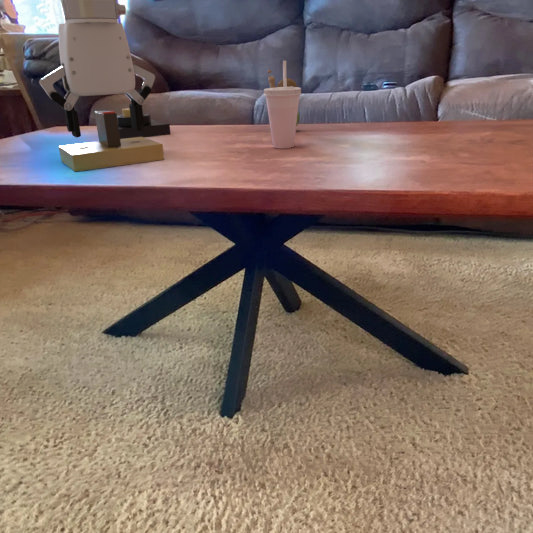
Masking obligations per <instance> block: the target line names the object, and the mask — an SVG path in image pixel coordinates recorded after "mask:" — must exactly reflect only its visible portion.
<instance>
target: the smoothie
mask: <svg viewBox="0 0 533 533" xmlns="http://www.w3.org/2000/svg"><path fill="white" fill-rule="evenodd" d="M287 78H288V77H287V60H282V79H283V87H277V86H276V88H270V87H267V88H264V89H263V96H264V97H265V100H266V101H265V102H266V107H267V114H268V122H269V127H270V128H269V129H270V135H271V142H272V148H274V149H292V148H294V147H295V142H296V132H297V126H296V124H297V114H298V113H299V104H300V95H302V88H301V87H300V86H299V87H298V86H297V87H287ZM291 147H292V148H291Z"/></svg>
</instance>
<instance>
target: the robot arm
mask: <svg viewBox="0 0 533 533" xmlns="http://www.w3.org/2000/svg"><path fill="white" fill-rule="evenodd" d="M60 4H61V11H62V17H63V22H64V23H59V24H58V50H59V61H60V66H59V67H58V68H56V69H55V70H53V71H51V72H50V73H48V74H46V75H45V76H43V77H41V78H40V79H39V81H38V83H39V85H40V86H41V88H42V89H43V90H44V92H45V93H46V95H47V96H48V98H49V99H50V100H51V101H52V102H54V103H55V104H56V105H57V106H58V107H60V108H61V109H63V111H64V119H65V124H66V130H67V131H68V132H69V133H71V136H72V137H74V138H81V136H82V133H81V132H82V131H81V127H80V121H79V116H78V111H77V110H76V109H75V105H76V103H77V102H78V100H79V98H80V97H89V96H105V95H119V94H120V95H121V94H124V96H126V97H127V98H128V99H129V100H130V103H129V105H128V108H129V109H130V117H131V124H132V129H134V130H137V131H142V125H143V124H144V118H143V114H144V112H143V105H144V104H145V101H146V100H147V97H149V95H150V94H151V93H152V88H153V85H154V83H155V80H156V75H155V74H154V73H153V72H150V71H148V70H146V69H144V68H142V67H140V66H138V65H136V64H135V63H133V59H132V54H131V49H130V45H129V41H128V38H127V35H126V30H125V27H124V25H123V23H122V22H119V17H120V16H124V15H125V16H126V14H127V9H126V6H125V4H120V3H118V2H117V0H60ZM136 77H138V78H141V79H142V81H143V82H142V86H140V88H139V90H137V89H135V88H136ZM60 80H62V84H63V88H64V90H65V91H66V94H65V95H64V97H63V96H62V95H61V94H60V93H59V92H58V91H57V90H56V88H55V87H54V84H55V83H56V82H58V81H60Z"/></svg>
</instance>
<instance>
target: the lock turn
mask: <svg viewBox="0 0 533 533" xmlns="http://www.w3.org/2000/svg"><path fill="white" fill-rule="evenodd" d="M117 116H118V115H117V112H116V111H115V110H95V111H94V118H95V125H96V130H97V131H96V132H97V136H98V142H99V143H100V144H102V145H104V146H107V147H118V146H121V142H120V135H119V128H118V121H117Z"/></svg>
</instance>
